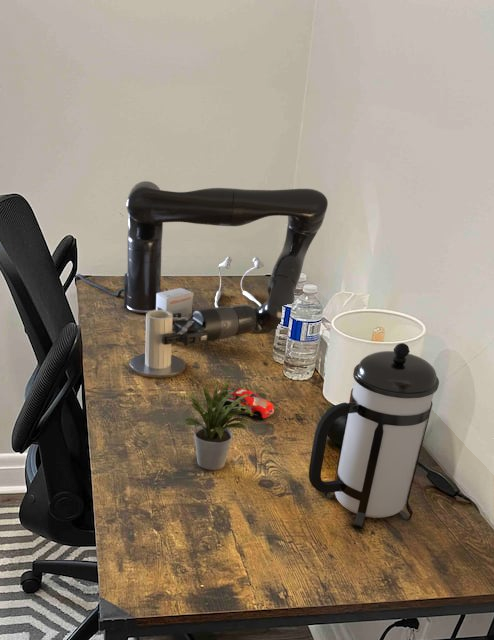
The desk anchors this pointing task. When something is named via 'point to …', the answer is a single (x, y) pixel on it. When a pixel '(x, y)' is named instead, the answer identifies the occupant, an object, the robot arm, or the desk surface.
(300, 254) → the robot arm
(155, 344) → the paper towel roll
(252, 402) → the race car
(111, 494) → the desk surface
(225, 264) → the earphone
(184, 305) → the ink box
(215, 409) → the house plant
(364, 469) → the coffee press
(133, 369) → the stand
